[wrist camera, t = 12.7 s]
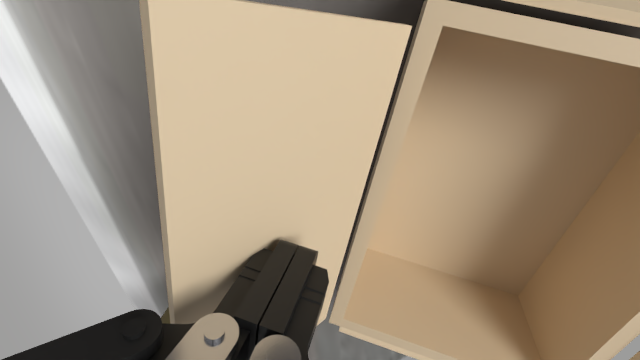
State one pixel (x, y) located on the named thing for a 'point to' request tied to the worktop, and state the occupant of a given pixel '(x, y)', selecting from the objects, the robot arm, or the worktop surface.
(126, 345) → the robot arm
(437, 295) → the carton
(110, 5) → the worktop surface
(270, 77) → the flap
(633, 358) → the flap
